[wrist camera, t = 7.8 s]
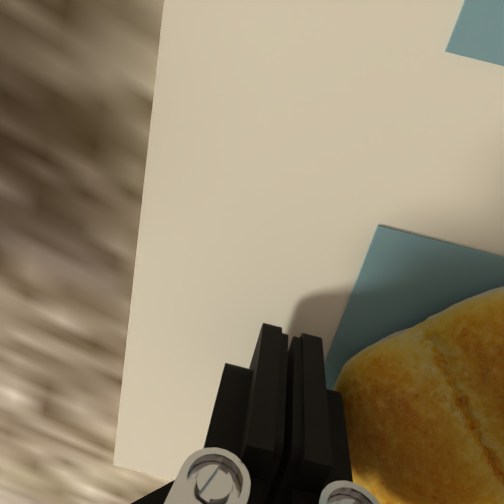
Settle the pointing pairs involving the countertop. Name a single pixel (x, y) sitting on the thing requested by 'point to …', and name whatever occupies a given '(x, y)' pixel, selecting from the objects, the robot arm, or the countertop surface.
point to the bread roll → (431, 408)
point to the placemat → (306, 192)
